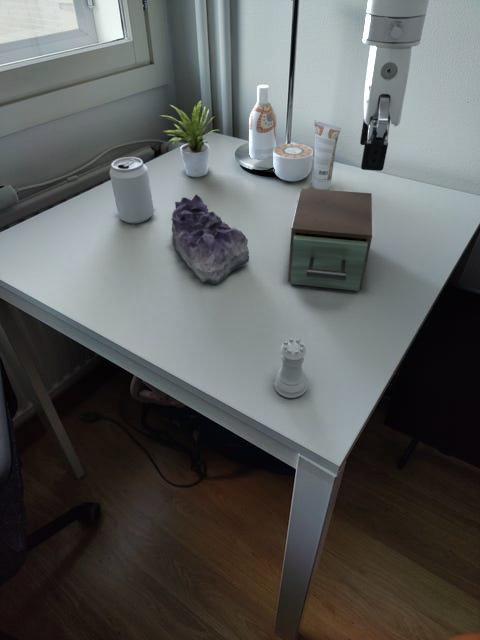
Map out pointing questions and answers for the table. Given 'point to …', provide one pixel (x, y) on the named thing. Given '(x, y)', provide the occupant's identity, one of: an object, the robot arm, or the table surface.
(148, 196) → the can
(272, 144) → the cosmetic set
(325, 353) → the table surface
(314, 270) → the drawer
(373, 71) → the robot arm
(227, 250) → the geode
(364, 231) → the cabinet
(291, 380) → the rook chess piece
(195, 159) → the house plant
